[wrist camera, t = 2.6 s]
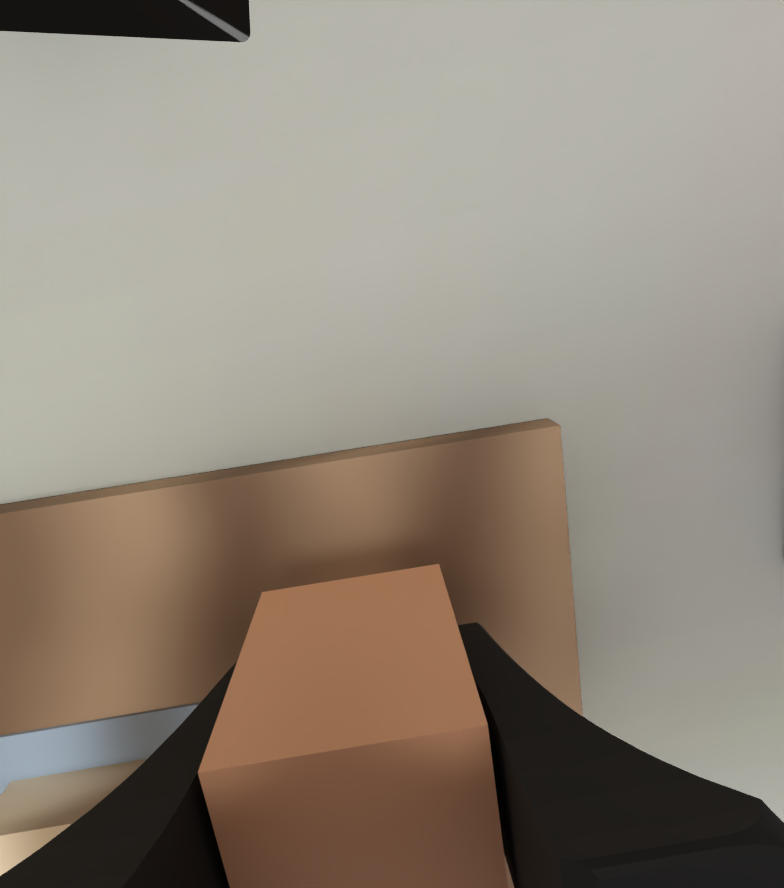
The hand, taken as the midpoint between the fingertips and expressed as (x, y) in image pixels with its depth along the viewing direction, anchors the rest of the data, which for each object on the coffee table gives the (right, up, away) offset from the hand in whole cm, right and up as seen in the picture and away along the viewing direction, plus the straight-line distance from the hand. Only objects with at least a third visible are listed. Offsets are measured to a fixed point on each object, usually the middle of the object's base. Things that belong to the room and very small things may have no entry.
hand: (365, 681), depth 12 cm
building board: (-4, -3, +5) cm, 7 cm away
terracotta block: (0, 0, +1) cm, 1 cm away
